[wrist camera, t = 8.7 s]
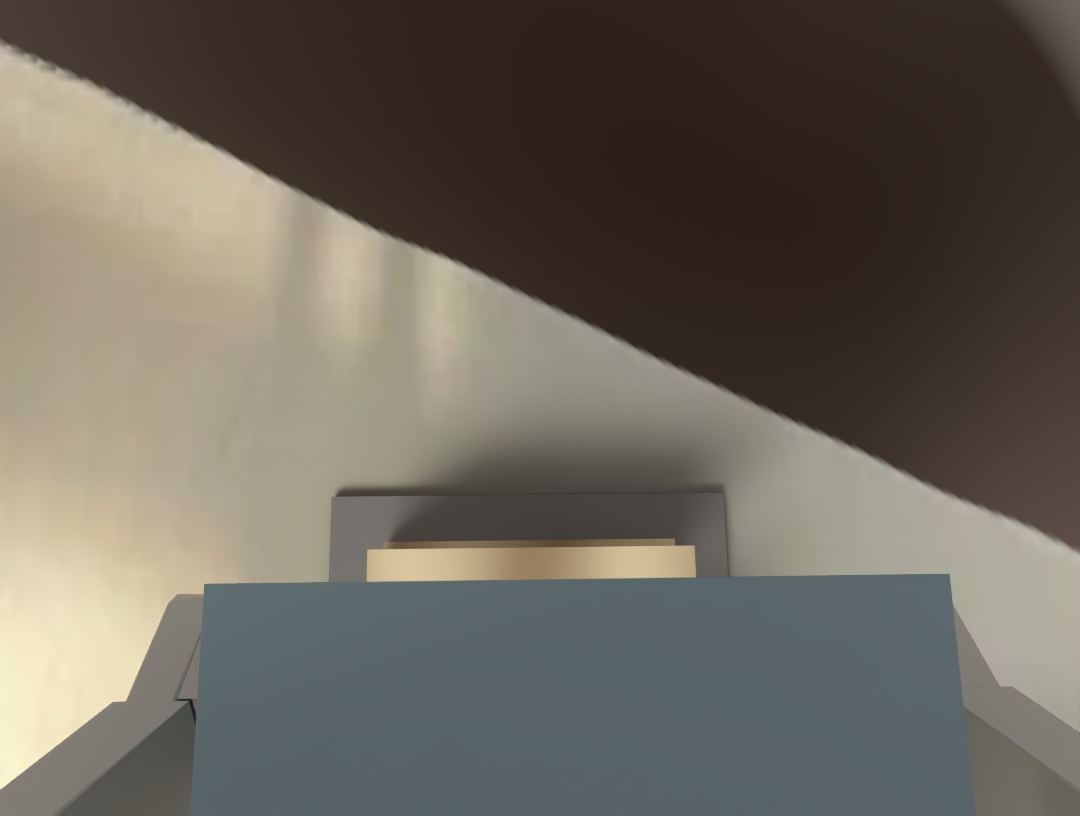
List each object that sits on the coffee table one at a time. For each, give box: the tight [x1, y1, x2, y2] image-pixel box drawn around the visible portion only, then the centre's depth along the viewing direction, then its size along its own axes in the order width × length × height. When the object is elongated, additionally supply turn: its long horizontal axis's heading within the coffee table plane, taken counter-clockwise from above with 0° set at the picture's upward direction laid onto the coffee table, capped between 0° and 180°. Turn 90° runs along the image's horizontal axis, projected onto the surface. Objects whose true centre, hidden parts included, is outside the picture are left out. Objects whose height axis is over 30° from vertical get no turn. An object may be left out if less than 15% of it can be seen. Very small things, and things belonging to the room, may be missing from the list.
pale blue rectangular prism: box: [190, 574, 975, 816], centre depth 12 cm, size 6×2×10 cm, turn 91°
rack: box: [367, 539, 696, 582], centre depth 31 cm, size 10×7×5 cm, turn 91°
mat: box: [329, 493, 728, 582], centre depth 33 cm, size 14×10×1 cm
